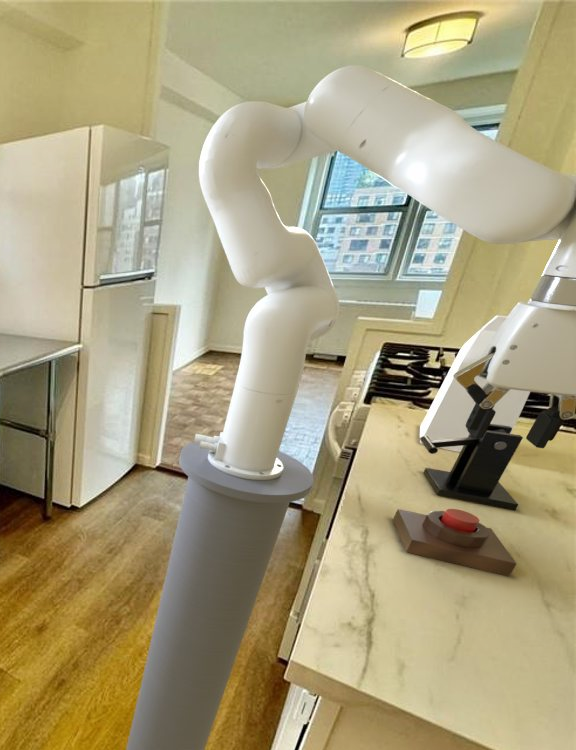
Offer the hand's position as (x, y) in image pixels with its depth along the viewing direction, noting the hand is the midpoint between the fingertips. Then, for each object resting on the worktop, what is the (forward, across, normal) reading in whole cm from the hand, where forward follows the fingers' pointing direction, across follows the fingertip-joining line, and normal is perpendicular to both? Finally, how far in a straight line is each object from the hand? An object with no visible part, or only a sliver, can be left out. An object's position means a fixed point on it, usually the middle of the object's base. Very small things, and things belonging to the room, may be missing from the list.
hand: (504, 437), depth 63 cm
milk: (+18, -13, -47) cm, 52 cm away
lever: (+10, -5, -22) cm, 25 cm away
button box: (+17, 0, 0) cm, 17 cm away
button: (+14, 0, 0) cm, 14 cm away
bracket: (+17, -8, -22) cm, 29 cm away
